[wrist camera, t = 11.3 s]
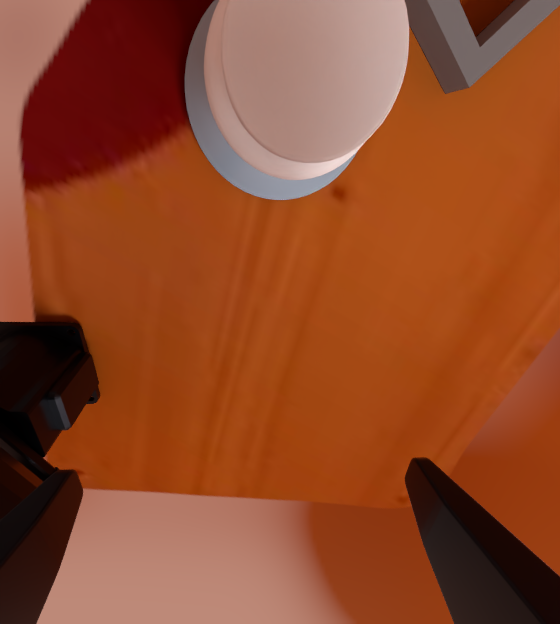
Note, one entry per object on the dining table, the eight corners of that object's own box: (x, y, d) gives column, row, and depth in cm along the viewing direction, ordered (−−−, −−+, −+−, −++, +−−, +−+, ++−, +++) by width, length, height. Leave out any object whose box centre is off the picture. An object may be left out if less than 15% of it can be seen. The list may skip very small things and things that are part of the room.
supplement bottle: (204, 133, 15) (146, 121, 7) (249, 1, 13) (250, -261, 5) (301, 185, 17) (354, 229, 8) (355, 74, 15) (503, -22, 6)
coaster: (193, 194, 17) (191, 195, 17) (178, -37, 13) (175, -44, 12) (353, 202, 18) (356, 203, 18) (388, -12, 14) (393, -17, 13)
